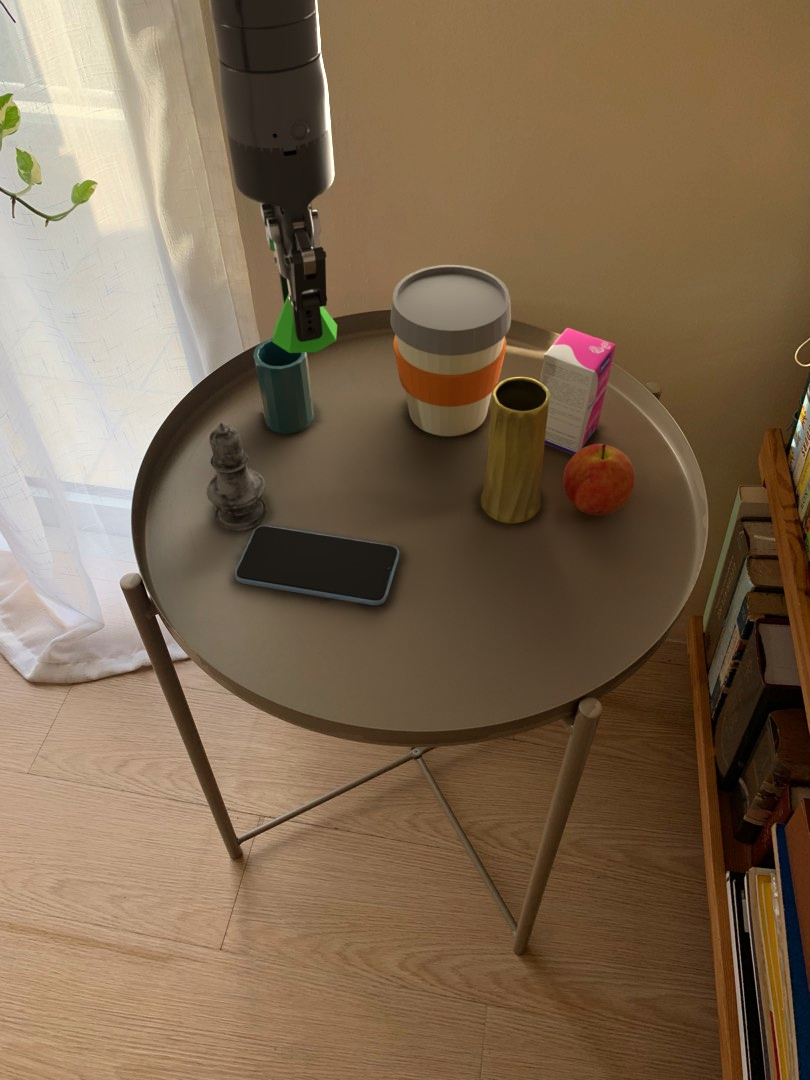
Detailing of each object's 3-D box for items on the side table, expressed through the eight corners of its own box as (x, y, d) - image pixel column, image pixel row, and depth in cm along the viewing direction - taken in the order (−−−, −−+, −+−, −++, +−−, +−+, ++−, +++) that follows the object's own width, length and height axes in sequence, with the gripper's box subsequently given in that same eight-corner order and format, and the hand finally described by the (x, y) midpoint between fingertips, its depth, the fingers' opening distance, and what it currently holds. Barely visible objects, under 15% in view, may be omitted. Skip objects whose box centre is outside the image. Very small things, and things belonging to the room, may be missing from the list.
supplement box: (578, 457, 96) (594, 372, 87) (529, 438, 98) (540, 354, 89) (600, 427, 99) (617, 342, 90) (552, 409, 101) (564, 325, 93)
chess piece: (266, 533, 89) (248, 444, 80) (208, 533, 89) (184, 444, 80) (272, 491, 93) (256, 402, 84) (217, 491, 93) (195, 402, 84)
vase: (472, 515, 90) (478, 406, 80) (491, 476, 94) (500, 367, 83) (530, 531, 89) (544, 422, 78) (547, 490, 92) (562, 381, 82)
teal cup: (270, 438, 99) (259, 373, 92) (260, 407, 102) (248, 343, 95) (319, 427, 100) (311, 362, 93) (307, 397, 103) (299, 332, 97)
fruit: (633, 528, 89) (648, 470, 83) (564, 530, 89) (574, 472, 83) (621, 480, 93) (634, 422, 87) (555, 481, 93) (564, 423, 87)
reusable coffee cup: (433, 363, 107) (435, 251, 96) (523, 401, 102) (535, 287, 91) (371, 419, 100) (364, 305, 89) (463, 462, 95) (469, 347, 84)
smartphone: (256, 522, 89) (401, 545, 86) (257, 528, 89) (401, 550, 87) (230, 578, 84) (383, 603, 82) (232, 583, 85) (384, 609, 82)
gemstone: (262, 323, 79) (252, 262, 74) (325, 307, 80) (319, 247, 76) (282, 361, 75) (273, 299, 70) (349, 343, 76) (344, 282, 72)
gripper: (210, 89, 68) (245, 285, 80) (244, 172, 58) (277, 379, 71) (306, 76, 69) (325, 271, 82) (353, 155, 60) (366, 361, 73)
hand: (302, 320), depth 76 cm, fingers closed on gemstone, 4 cm apart
